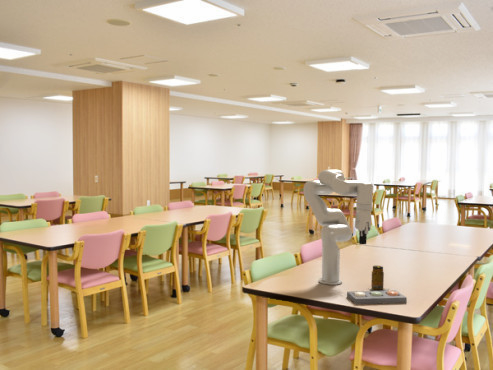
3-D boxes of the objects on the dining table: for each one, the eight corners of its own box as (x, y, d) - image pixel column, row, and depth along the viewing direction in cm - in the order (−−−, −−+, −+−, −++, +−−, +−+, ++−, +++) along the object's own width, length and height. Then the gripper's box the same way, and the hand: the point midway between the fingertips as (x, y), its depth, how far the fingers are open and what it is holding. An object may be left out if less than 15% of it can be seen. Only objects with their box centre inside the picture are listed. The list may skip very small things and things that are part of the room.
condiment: (374, 286, 245) (375, 264, 244) (389, 289, 239) (390, 266, 238) (367, 289, 240) (368, 266, 239) (383, 292, 234) (383, 269, 233)
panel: (346, 296, 226) (347, 291, 226) (395, 295, 229) (395, 290, 229) (355, 304, 214) (355, 298, 214) (406, 302, 217) (406, 297, 217)
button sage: (369, 296, 224) (369, 291, 223) (379, 296, 224) (379, 291, 224) (373, 299, 219) (373, 294, 219) (383, 299, 219) (383, 294, 219)
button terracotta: (385, 295, 225) (385, 291, 224) (395, 295, 225) (395, 290, 225) (389, 298, 220) (389, 294, 220) (399, 298, 220) (399, 293, 220)
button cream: (352, 296, 223) (353, 292, 223) (362, 296, 223) (362, 291, 223) (356, 299, 218) (356, 295, 218) (366, 299, 218) (366, 294, 218)
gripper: (351, 205, 233) (350, 240, 234) (362, 209, 218) (360, 247, 220) (365, 205, 234) (364, 240, 235) (377, 209, 219) (375, 247, 221)
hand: (362, 243), depth 228 cm, fingers closed
